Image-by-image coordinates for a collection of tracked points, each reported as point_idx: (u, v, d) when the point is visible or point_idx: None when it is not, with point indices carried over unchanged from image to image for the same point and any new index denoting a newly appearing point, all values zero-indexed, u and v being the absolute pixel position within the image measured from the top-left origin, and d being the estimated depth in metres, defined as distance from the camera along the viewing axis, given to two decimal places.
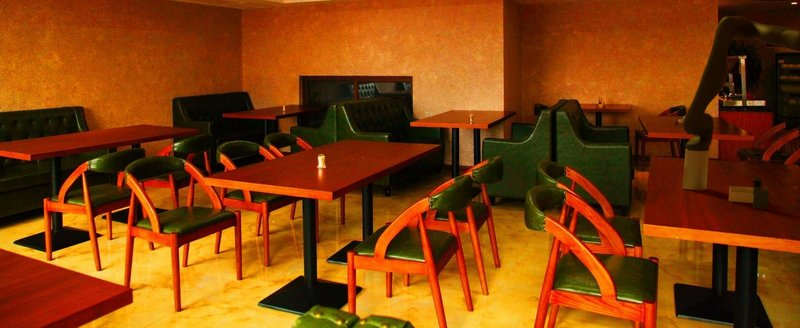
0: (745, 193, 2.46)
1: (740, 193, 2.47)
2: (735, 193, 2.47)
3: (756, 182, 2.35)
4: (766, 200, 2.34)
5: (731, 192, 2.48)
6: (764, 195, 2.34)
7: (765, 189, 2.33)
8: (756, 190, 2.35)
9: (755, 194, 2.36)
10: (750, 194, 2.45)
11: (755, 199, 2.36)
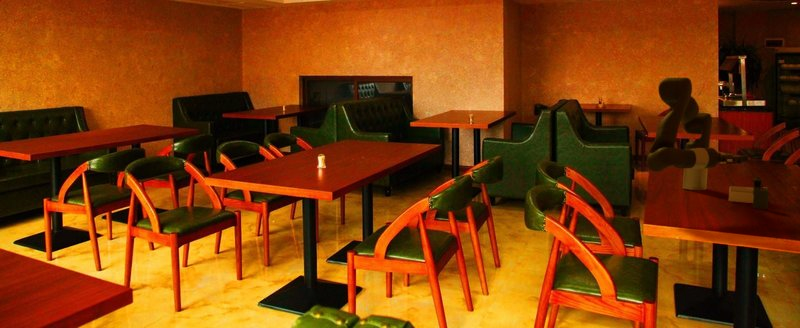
0: (745, 193, 2.46)
1: (740, 193, 2.47)
2: (735, 193, 2.47)
3: (756, 182, 2.35)
4: (766, 200, 2.34)
5: (731, 192, 2.48)
6: (764, 195, 2.34)
7: (765, 189, 2.33)
8: (756, 190, 2.35)
9: (755, 194, 2.36)
10: (750, 194, 2.45)
11: (755, 199, 2.36)
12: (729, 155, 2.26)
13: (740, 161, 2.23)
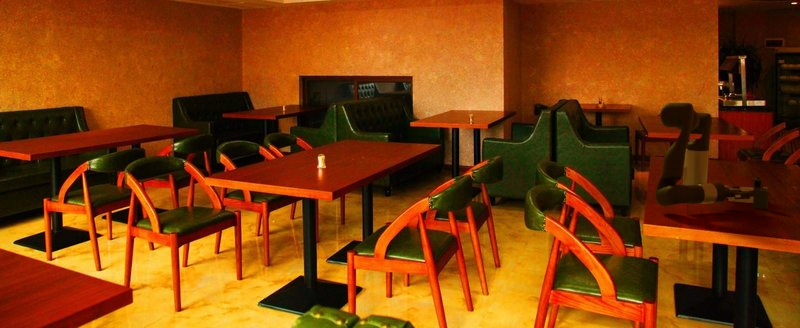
0: None
1: None
2: None
3: (756, 182, 2.35)
4: (766, 200, 2.34)
5: None
6: (764, 195, 2.34)
7: (765, 189, 2.33)
8: (756, 190, 2.35)
9: None
10: None
11: (755, 199, 2.36)
12: (737, 190, 2.29)
13: (748, 197, 2.26)
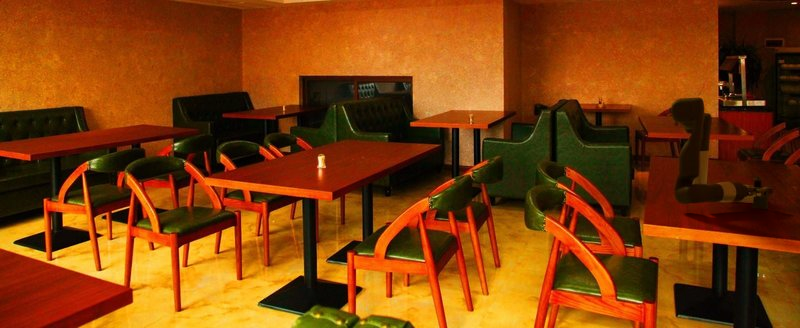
0: None
1: None
2: None
3: (756, 182, 2.35)
4: (766, 200, 2.34)
5: None
6: None
7: None
8: None
9: None
10: None
11: (755, 199, 2.36)
12: (756, 188, 2.32)
13: (766, 194, 2.30)
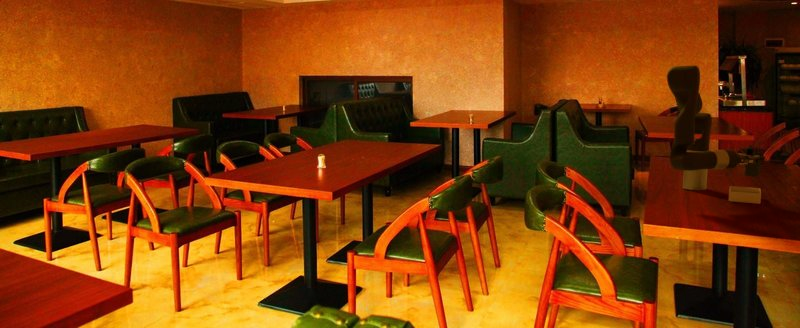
0: (745, 193, 2.46)
1: (740, 193, 2.47)
2: (735, 193, 2.47)
3: (748, 150, 2.43)
4: (758, 168, 2.42)
5: (731, 192, 2.48)
6: None
7: None
8: None
9: None
10: (750, 194, 2.45)
11: (747, 167, 2.44)
12: (748, 156, 2.40)
13: (758, 161, 2.38)
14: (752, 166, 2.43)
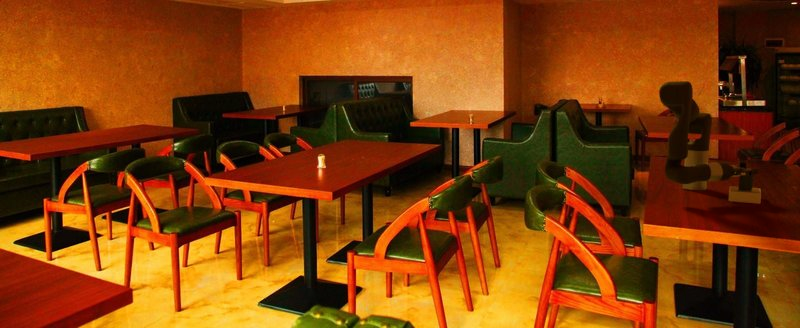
0: (745, 193, 2.46)
1: (740, 193, 2.47)
2: (735, 193, 2.47)
3: (742, 164, 2.49)
4: (751, 181, 2.48)
5: (731, 192, 2.48)
6: (749, 176, 2.48)
7: None
8: None
9: None
10: (750, 194, 2.45)
11: (741, 180, 2.50)
12: None
13: (751, 174, 2.43)
14: (745, 180, 2.49)
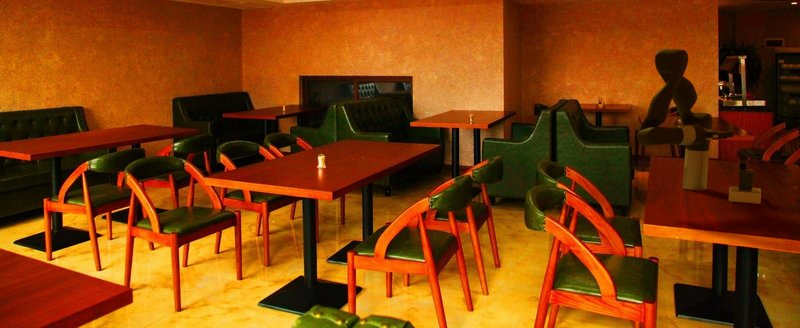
0: (745, 193, 2.46)
1: (740, 193, 2.47)
2: (735, 193, 2.47)
3: (741, 164, 2.49)
4: (751, 181, 2.48)
5: (731, 192, 2.48)
6: (749, 177, 2.48)
7: (750, 171, 2.48)
8: (741, 172, 2.49)
9: (741, 176, 2.50)
10: (750, 194, 2.45)
11: (741, 181, 2.50)
12: (715, 131, 2.40)
13: (725, 137, 2.37)
14: (745, 180, 2.49)
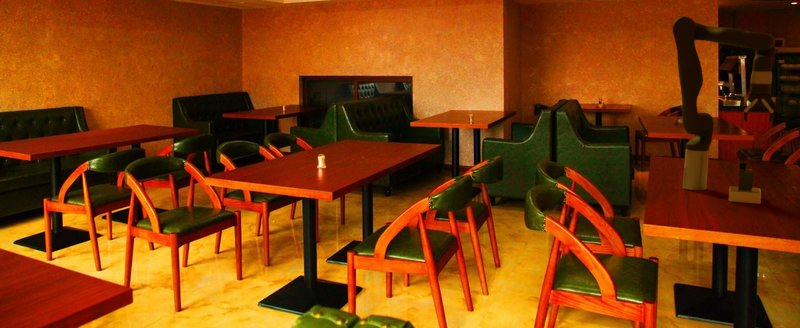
0: (745, 193, 2.46)
1: (740, 193, 2.47)
2: (735, 193, 2.47)
3: (741, 164, 2.49)
4: (751, 181, 2.48)
5: (731, 192, 2.48)
6: (749, 177, 2.48)
7: (750, 171, 2.48)
8: (741, 172, 2.49)
9: (741, 176, 2.50)
10: (750, 194, 2.45)
11: (741, 181, 2.50)
12: None
13: None
14: (745, 180, 2.49)
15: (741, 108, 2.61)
